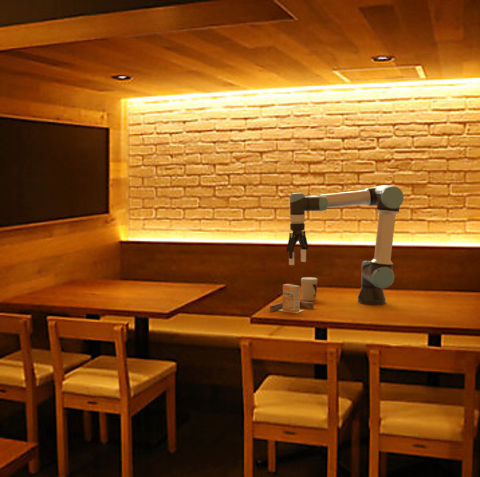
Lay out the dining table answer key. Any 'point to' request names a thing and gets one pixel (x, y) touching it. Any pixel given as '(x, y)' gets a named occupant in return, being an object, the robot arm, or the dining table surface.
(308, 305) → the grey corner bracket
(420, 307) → the dining table surface
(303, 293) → the coffee cup
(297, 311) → the pad
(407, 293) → the dining table surface
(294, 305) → the supplement box
